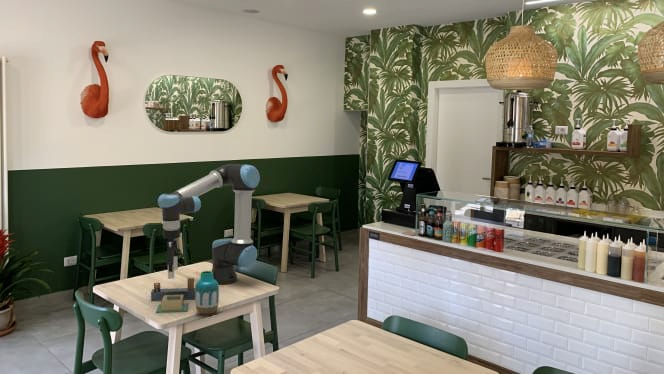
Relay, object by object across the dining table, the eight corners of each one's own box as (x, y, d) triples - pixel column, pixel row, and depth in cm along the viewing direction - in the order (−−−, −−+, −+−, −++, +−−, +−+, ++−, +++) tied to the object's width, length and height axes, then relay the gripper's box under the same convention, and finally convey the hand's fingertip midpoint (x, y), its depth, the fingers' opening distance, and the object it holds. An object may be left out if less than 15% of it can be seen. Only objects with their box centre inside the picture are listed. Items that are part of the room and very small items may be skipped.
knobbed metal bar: (196, 296, 265) (196, 276, 264) (195, 299, 260) (195, 279, 259) (152, 298, 261) (152, 278, 260) (151, 301, 256) (150, 281, 255)
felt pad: (189, 304, 253) (189, 303, 253) (187, 311, 243) (187, 310, 243) (158, 305, 251) (158, 304, 250) (155, 313, 241) (155, 311, 241)
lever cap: (183, 303, 252) (183, 293, 251) (181, 310, 244) (181, 298, 243) (164, 304, 250) (163, 293, 250) (161, 310, 242) (161, 299, 241)
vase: (190, 313, 240) (189, 272, 238) (207, 307, 249) (207, 267, 247) (206, 319, 235) (206, 277, 232) (223, 312, 243) (223, 271, 241)
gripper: (166, 223, 254) (168, 266, 257) (159, 235, 230) (160, 282, 232) (182, 223, 255) (184, 265, 258) (176, 234, 231) (178, 281, 234)
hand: (173, 273), depth 245 cm, fingers open, 13 cm apart
